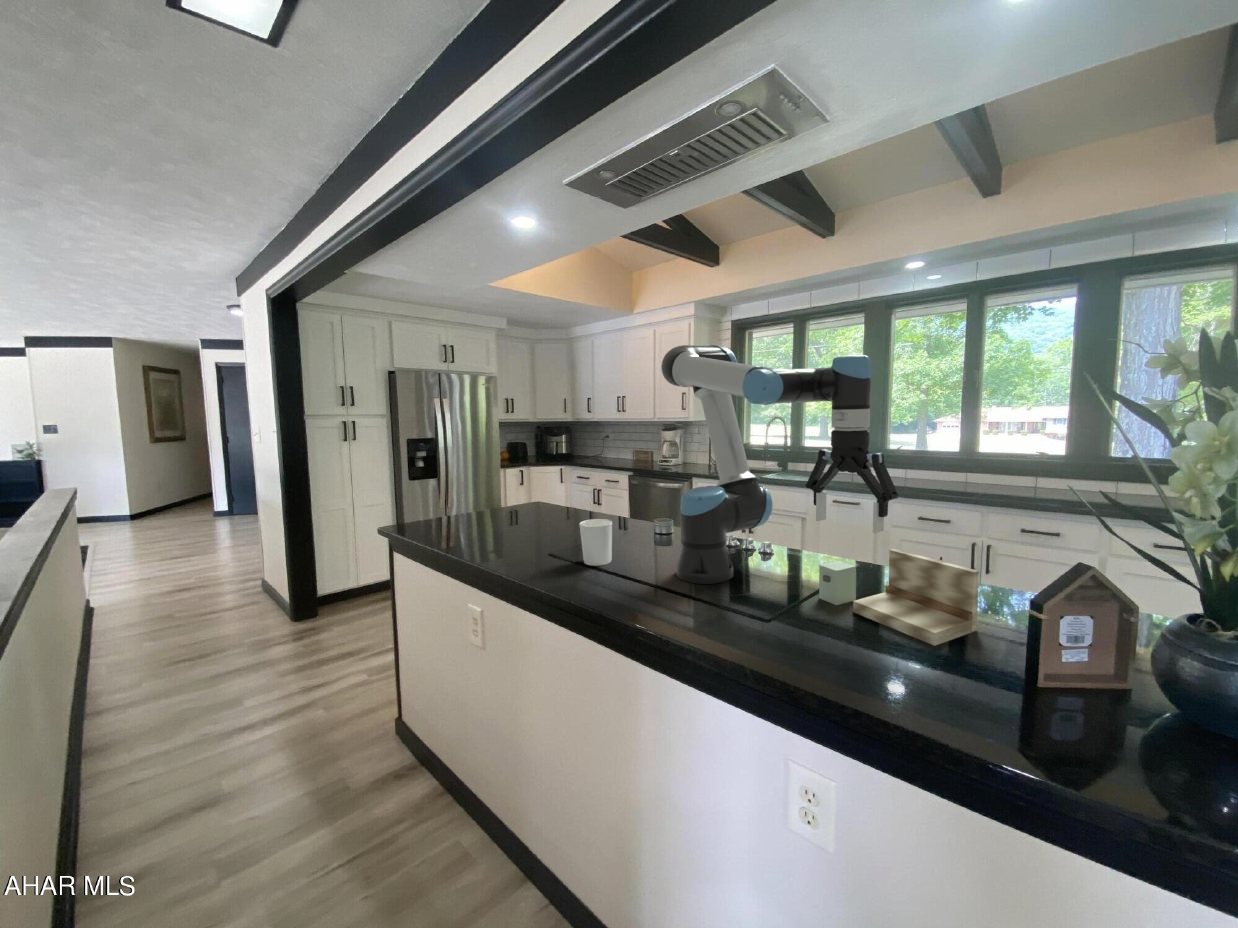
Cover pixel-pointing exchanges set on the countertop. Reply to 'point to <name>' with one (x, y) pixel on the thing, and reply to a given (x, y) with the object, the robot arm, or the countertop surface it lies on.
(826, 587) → the cabinet block
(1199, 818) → the countertop surface
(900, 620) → the cleat board
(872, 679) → the countertop surface
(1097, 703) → the countertop surface
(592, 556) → the candle holder
